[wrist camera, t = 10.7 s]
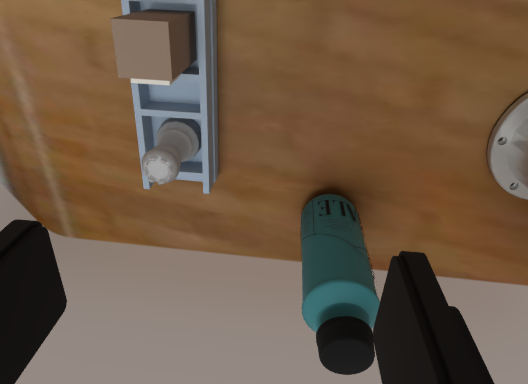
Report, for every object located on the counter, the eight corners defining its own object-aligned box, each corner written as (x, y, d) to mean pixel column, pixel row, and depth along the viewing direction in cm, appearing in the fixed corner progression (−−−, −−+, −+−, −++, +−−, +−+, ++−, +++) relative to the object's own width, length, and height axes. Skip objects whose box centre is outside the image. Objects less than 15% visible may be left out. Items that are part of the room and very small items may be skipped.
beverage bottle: (306, 237, 47) (311, 395, 29) (293, 190, 44) (290, 334, 26) (361, 227, 46) (401, 386, 28) (351, 178, 43) (389, 321, 25)
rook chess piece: (184, 164, 41) (160, 204, 34) (150, 134, 40) (119, 169, 33) (213, 137, 39) (194, 173, 32) (179, 105, 38) (152, 135, 31)
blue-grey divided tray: (216, -9, 35) (188, -2, 26) (218, 173, 44) (198, 224, 35) (138, -13, 35) (85, -8, 26) (156, 169, 44) (121, 218, 35)
